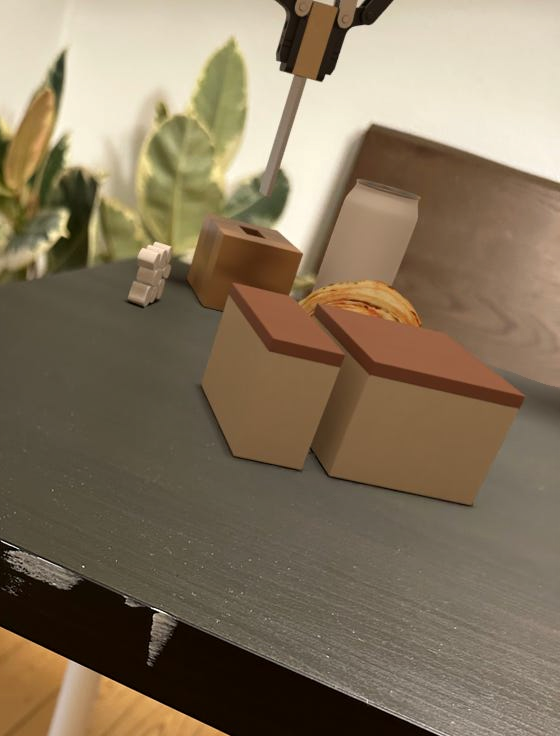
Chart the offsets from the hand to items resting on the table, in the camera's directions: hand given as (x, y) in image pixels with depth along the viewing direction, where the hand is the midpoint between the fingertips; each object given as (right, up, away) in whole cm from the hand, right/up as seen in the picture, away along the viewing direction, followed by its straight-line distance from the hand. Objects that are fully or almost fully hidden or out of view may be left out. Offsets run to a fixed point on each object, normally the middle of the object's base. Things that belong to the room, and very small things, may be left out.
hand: (301, 75), depth 78 cm
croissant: (+2, -25, -3) cm, 25 cm away
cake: (0, -34, -19) cm, 39 cm away
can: (+6, -17, +10) cm, 21 cm away
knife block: (-4, -15, +10) cm, 18 cm away
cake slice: (-8, -33, -20) cm, 39 cm away
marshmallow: (-13, -18, +1) cm, 22 cm away
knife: (-2, -7, +5) cm, 9 cm away
